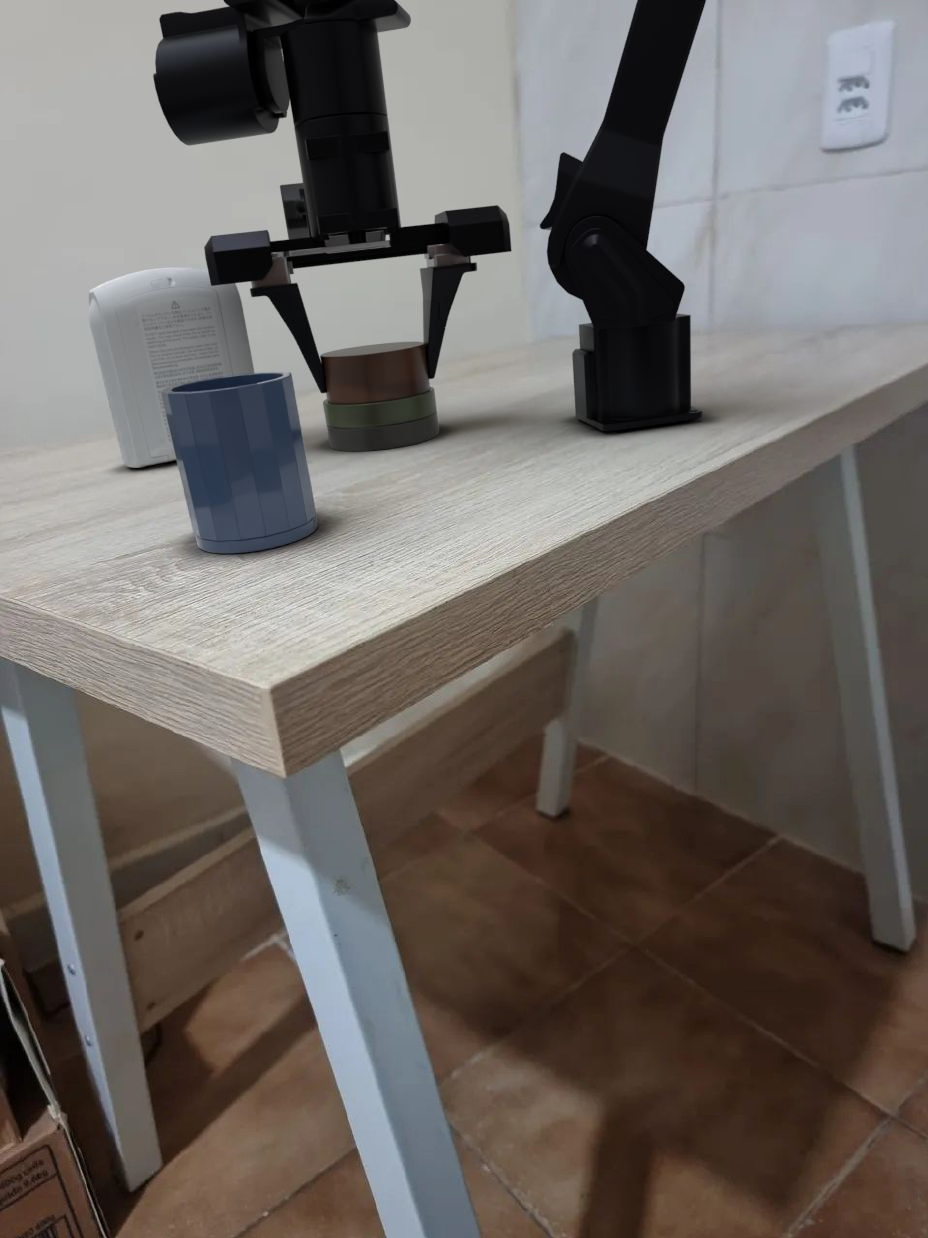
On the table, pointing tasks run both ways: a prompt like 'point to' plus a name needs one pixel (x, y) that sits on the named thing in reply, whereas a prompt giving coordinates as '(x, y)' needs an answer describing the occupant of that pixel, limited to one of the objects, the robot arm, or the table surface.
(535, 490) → the table surface
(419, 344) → the walnut chip
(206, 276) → the photo printer
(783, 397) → the table surface
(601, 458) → the table surface
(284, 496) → the blue cup
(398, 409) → the green and grey disc
